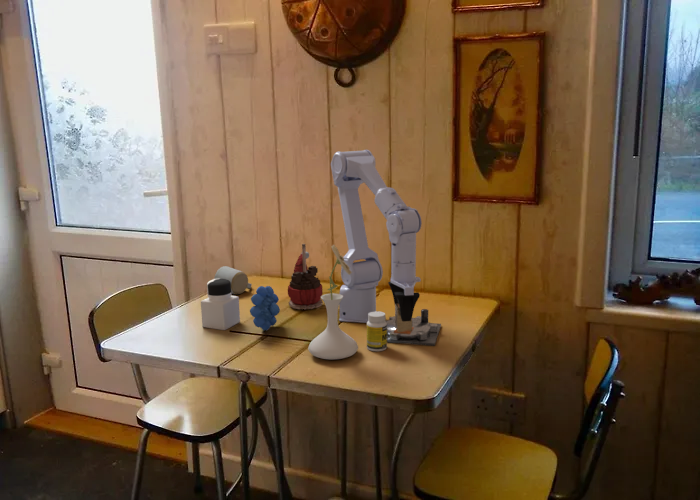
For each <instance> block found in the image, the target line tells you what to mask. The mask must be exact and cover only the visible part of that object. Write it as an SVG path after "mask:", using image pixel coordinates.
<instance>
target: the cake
mask: <svg viewBox="0 0 700 500" xmlns="http://www.w3.org/2000/svg"><path fill="white" fill-rule="evenodd" d="M301 248H302V249H301V250H302V251H301V253H300V255H299V256H298V257H297V260H296V262H295V264H294V269H293V272H292V275H291V276H290V277H291V280H290V281H289V284H288V286H287V295H288V298H290V299H289V302H288V306H289V307H291V308H292V309H295V310H296V309H297V310H303V309H304V310H312V309H315V308H316V309H317V308H319V307H322V306H323V304H324V301H323V300H322V299H321V296H322V295H324V293H323V285H322V283H321V280H320V279H319V278H318V277H316V276H317V274H318V273H319V272H318V267H317V266H315V265H311V266H308V264H307V259H309V257H310V253H309V252H308V251H307V249H306V248H307V247H306V243H302V244H301Z"/></svg>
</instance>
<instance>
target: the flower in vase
mask: <svg viewBox="0 0 700 500" xmlns="http://www.w3.org/2000/svg"><path fill="white" fill-rule="evenodd" d="M331 250H332V252H333V254H334V256H335V257H336V260H335V263H334V265H333V268H332V270H331V272H330V276H329V277H328V278H329V288H328V289H327V291H329V292H330V293H326V294H323V295H322V296H321V300H322V301H323V304H324V305H325V308H326V314H327V315H326V316H327V326H326V328H325V329H324V330H323V331H322V332H320V334H318V335H317V336H315V338H313V339H312V340H311V342H310V343H309V345H308V348H307V349H308V351H309V353H310V354H311V355H312V356H313V357H315V358H320V359H322V360H330V361H331V360H332V361H333V360H341V359H345V358H348V357H351V356H353V355H355V354H356V352H358V350H359V345H358V343H357V341H356V340H355V339H354V338H353V337H351V336H350V335H349V334H347V333H346V332H345V331H343V330H342V329H341V328H340V326H339V322H338V321H339V318H338V312H339V304H340V301H341V300H342V298H343V295H340V293H333V291H332V290H334V289H336V288H338V285H337V284H335V282H334V280H333V275H334V271H335V269H336V268H337V265H340V266H341V265H342V267H343V268H344V270H345V271H346V272H347V273H348V274H349V275H350V274H351V273H352V272H351V271H350V270H349V269H350V268H349V266H348V265H347V264H346V263H345V262H344V258H343V257H344V255H340V252H339V248H338V247H336V244H333V245H331Z"/></svg>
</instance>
